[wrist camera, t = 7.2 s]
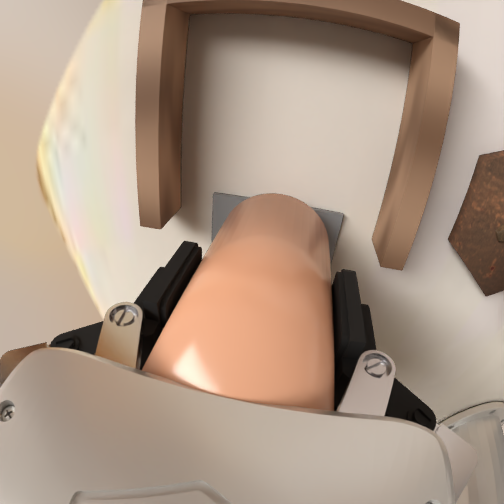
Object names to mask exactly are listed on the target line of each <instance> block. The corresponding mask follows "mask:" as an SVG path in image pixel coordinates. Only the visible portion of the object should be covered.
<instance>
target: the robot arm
mask: <svg viewBox="0 0 504 504" xmlns="http://www.w3.org/2000/svg"><path fill="white" fill-rule="evenodd" d="M201 261H202V248H201V247H198V244H197V243H194V242H188V241H184V242H183V243H182V244H181V246H180V247H179V248H178V250H177V251H176V252H175V254H174V255H173V257H172V258H171V259H170V261H169V262H168V264H167V265H166V266H165V267H160V268H159V269H158V270H157V271H156V273H155V274H154V276H153V277H152V278H151V280H150V281H149V282H148V284H147V285H146V287H145V288H144V289H143V291H142V292H141V294H140V295H139V297H138V298H137V299H136V301H135V302H134V303H130V302H121V303H118V304H115V305H113V306H112V307H110V308H109V309H108V310H107V312H106V314H105V318H104V321H102V322H99V323H96V324H92V325H89V326H86V327H82V328H79V329H76V330H72V331H69V332H66V333H63V334H60V335H58V336H57V337H55V338H54V340H53V341H52V342H51V344H50V345H48V344H47V342H45V343H41V344H36V345H32V346H28V347H23V348H19V349H14V350H10V351H8V352H6V353H5V354H4V355H2V357H1V359H0V504H504V435H503V431H502V427H501V426H502V425H503V424H504V402H490V403H485V404H482V405H478V406H475V407H473V408H470V409H467V410H465V411H463V412H460V413H458V414H456V415H454V416H452V417H450V418H448V419H446V420H445V421H443V422H441V423H439V424H437V423H436V417H435V414H434V412H433V411H432V410H431V409H430V408H429V407H428V406H427V405H426V404H425V403H424V402H422V401H421V400H420V399H419V398H418V397H417V396H415V395H414V394H413V393H412V392H411V391H410V390H408V389H407V388H406V387H405V386H404V385H403V384H401V383H400V382H399V381H398V380H397V379H396V378H394V377H395V372H396V367H395V364H394V362H393V360H392V359H391V357H389V356H388V355H387V354H385V353H383V352H381V351H378V350H376V345H375V339H374V332H373V326H372V320H371V314H370V308H369V306H368V305H366V304H361V301H360V294H359V288H358V282H357V277H356V272H355V271H351V270H345V269H342V270H341V272H336V275H335V278H334V281H333V284H332V299H333V323H334V411H329V410H320V409H312V408H304V407H297V406H283V405H271V404H262V403H254V402H247V401H242V400H237V399H232V398H227V397H223V396H219V395H214V394H211V393H207V392H204V391H201V390H197V389H194V388H191V387H188V386H186V385H183V384H180V383H178V382H175V381H173V380H170V379H168V378H164V377H161V376H158V375H154V374H151V373H148V372H145V371H142V368H143V366H144V365H145V363H146V361H147V359H148V357H149V355H150V353H151V351H152V349H153V347H154V346H155V344H156V342H157V340H158V338H159V336H160V334H161V333H162V331H163V329H164V327H165V325H166V323H167V321H168V320H169V318H170V316H171V314H172V312H173V310H174V309H175V307H176V305H177V303H178V301H179V300H180V298H181V296H182V294H183V292H184V291H185V289H186V287H187V285H188V283H189V282H190V280H191V278H192V276H193V275H194V273H195V271H196V269H197V268H198V266H199V264H200V262H201Z"/></svg>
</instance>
